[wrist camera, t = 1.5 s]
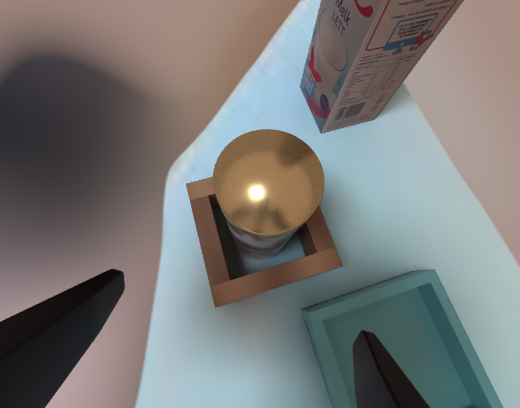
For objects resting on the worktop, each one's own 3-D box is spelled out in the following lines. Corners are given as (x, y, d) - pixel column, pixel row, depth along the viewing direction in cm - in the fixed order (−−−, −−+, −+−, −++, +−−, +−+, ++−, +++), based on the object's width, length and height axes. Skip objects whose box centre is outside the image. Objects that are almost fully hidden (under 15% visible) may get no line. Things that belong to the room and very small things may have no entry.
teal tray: (350, 460, 19) (368, 492, 16) (301, 309, 22) (308, 313, 19) (475, 406, 20) (512, 426, 17) (411, 271, 23) (434, 269, 20)
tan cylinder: (240, 267, 23) (229, 246, 10) (226, 215, 24) (201, 143, 12) (293, 251, 24) (341, 213, 11) (276, 201, 25) (302, 118, 13)
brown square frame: (221, 303, 22) (215, 307, 18) (195, 199, 25) (185, 183, 21) (327, 269, 23) (342, 266, 19) (291, 173, 26) (298, 154, 22)
